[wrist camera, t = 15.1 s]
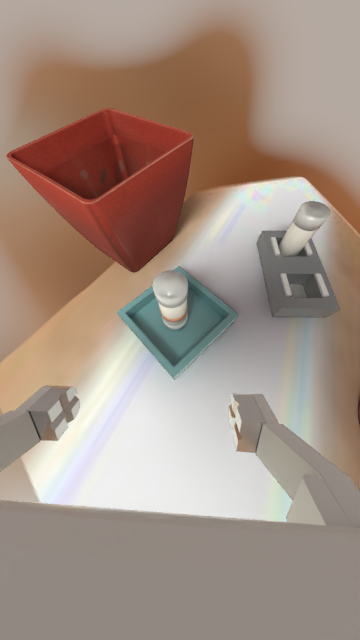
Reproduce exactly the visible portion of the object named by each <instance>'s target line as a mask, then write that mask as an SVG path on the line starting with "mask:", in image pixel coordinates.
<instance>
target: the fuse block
mask: <svg viewBox="0 0 360 640" xmlns="http://www.w3.org/2000/svg"><path fill="white" fill-rule="evenodd" d="M286 232H287V231H262V233H261V235H260V237H259V239H258V241H257V247H258V252H259V256H260V261H261V266H262V270H263V275H264V279H265V284H266V289H267V293H268V298H269V303H270V307H271V312H272V317H327V316H329V315H331V314H333V313H334V312H336V311H338V310H340V307H339V305H338V303H337V300H336V298H335V295H334V293H333V290H332V288H331V285H330V283H329V281H328V278H327V276H326V273H325V271H324V268H323V266H322V264H321V261H320V259H319V256H318V254H317V251H316V249H315V247H314V244H313V242H312V239H311V238H310V240H309V241H308V242H307V243H306V245H305V246H304V247H303V249H302V250H301V251H300V252H299V254H298V256H297V257H279V255H280V251H279V248H278V245H279V243H280V242H281V240H282V238H283V237H284V235H285V233H286ZM289 284H303V286H304V289H305V292H306V295H307V298H291V296H292V293H291V289H290V286H289Z"/></svg>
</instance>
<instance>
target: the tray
mask: <svg viewBox="0 0 360 640" xmlns="http://www.w3.org/2000/svg"><path fill="white" fill-rule="evenodd" d="M173 271H177V272H179V273H181V274H183V275H184V276H185V277H186V279H187V282H188V296H187V314H188V320H187V324H186V326H185V327H184V328H183V329H181V330H179V331H172V330H169V329H168V328H166V326H165V325H164V322H163V319H162V315H161V312H160V307H159V304H158V302H157V300H156V297H155V294H154V291H153V286H152V287H150V288H149V289H148V290H146V291H145V292H144V293H142V294H141V295H140V296H138V297H137V298H136V299H134V300H133V301H132V302H130V303H129V304H128V305H126V306H125V307H124V308H122V309H121V310H119V311H118V312H117V314H118V315H119V316H120V317H121V318H122V320H123V321H124V322H125V323H126V324H127V325H128V327H129V328H130V329H131V330H132V331H133V332H134V334H135V335H136V336H137V337H138V338H139V339H140V340H141V342H142V343H143V344H144V345H145V346H146V347H147V349H148V350H149V351H150V352H151V353H152V354H153V355H154V357H155V358H156V359H157V360H158V361H159V362H160V363H161V365H162V366H163V367H164V368H165V369H166V370H167V372H168V373H169V374H170V375H171V376H172V377H173V378H174V380H175V379H176V378H177V377H178V376H179V375H180V374H181V373H182V372H183V371H184V370H185V369H186V368H187V367H188V366H190V365H191V364H192V363H193V362H194V361H195V360H196V359H197V358H198V357H199V356H200V355H201V354H202V353H203V352H204V351H205V350H206V349H207V348H208V347H209V346H210V345H211V344H212V343H213V342H214V341H215V340H216V339H217V338H218V337H219V336H220V335H221V334H222V333H223V332H224V331H225V330H226V329H227V328H228V327H229V326H230V325H231V324H232V323H233V322H234V321H235V319H236V318H237V316H238V315H239V314H238V313H236V312H235V311H234V310H233V309H231V308H230V307H229V306H228V305H226V304H225V303H224V302H223V301H221V300H220V299H219V298H218V297H216V296H215V295H214V294H213V293H212V292H210V291H209V290H208V289H207V288H205V287H204V286H203V285H202V284H200V283H199V282H198V281H197V280H195V279H194V278H193V277H192V276H190V275H189V274H188V273H187V272H186V271H184V270H183V269H182V268H181V267H179V266H178V267H177V268H176V269H174V270H173Z"/></svg>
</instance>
